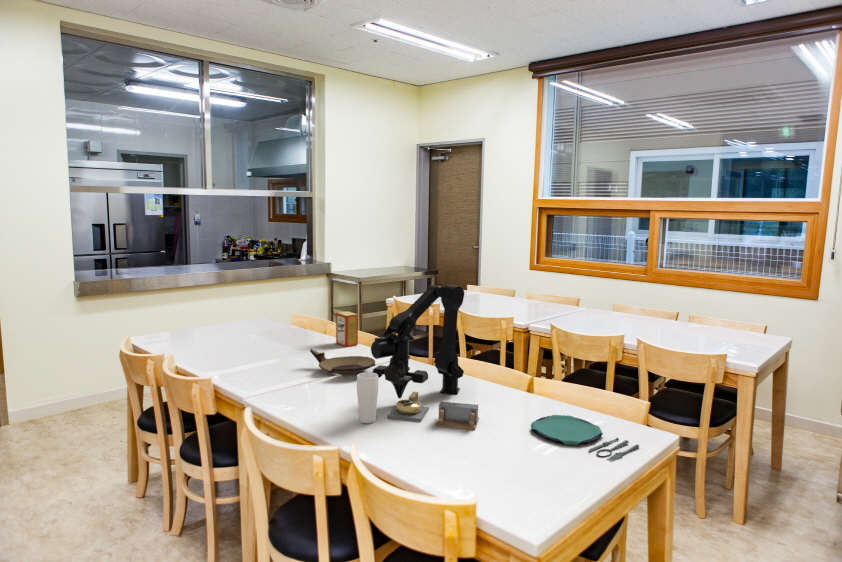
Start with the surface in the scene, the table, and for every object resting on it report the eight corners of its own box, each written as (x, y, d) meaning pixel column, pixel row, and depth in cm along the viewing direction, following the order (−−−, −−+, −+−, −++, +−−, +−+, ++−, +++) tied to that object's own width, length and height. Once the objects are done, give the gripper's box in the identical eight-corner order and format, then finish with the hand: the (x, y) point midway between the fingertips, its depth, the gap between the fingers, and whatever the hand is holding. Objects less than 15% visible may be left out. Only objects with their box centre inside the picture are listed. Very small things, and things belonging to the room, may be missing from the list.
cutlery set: (560, 416, 183) (560, 409, 183) (644, 449, 160) (645, 441, 160) (519, 431, 171) (519, 423, 171) (604, 468, 148) (604, 460, 148)
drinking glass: (358, 426, 172) (358, 379, 170) (355, 418, 178) (355, 372, 176) (380, 424, 174) (380, 377, 172) (375, 416, 180) (376, 371, 178)
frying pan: (341, 385, 211) (341, 366, 210) (301, 368, 233) (301, 350, 232) (387, 374, 226) (387, 356, 225) (345, 359, 248) (345, 342, 247)
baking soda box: (357, 345, 273) (357, 313, 271) (346, 347, 269) (346, 315, 267) (347, 341, 280) (347, 310, 278) (336, 343, 276) (336, 312, 274)
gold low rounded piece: (404, 399, 193) (404, 390, 192) (426, 401, 191) (427, 392, 190) (393, 413, 180) (393, 403, 179) (417, 415, 178) (417, 406, 177)
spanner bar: (438, 420, 175) (438, 405, 175) (440, 416, 179) (441, 401, 178) (476, 424, 173) (476, 408, 172) (477, 419, 176) (478, 404, 176)
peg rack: (442, 415, 182) (442, 401, 181) (478, 419, 179) (479, 405, 178) (436, 425, 173) (437, 411, 172) (474, 430, 170) (475, 415, 170)
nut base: (397, 406, 189) (397, 403, 189) (428, 409, 187) (428, 407, 187) (387, 418, 179) (387, 415, 178) (420, 421, 176) (421, 418, 176)
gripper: (364, 356, 185) (364, 401, 187) (416, 363, 179) (416, 409, 181) (379, 349, 196) (379, 391, 198) (429, 354, 189) (428, 399, 191)
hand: (399, 398), depth 191 cm, fingers closed
